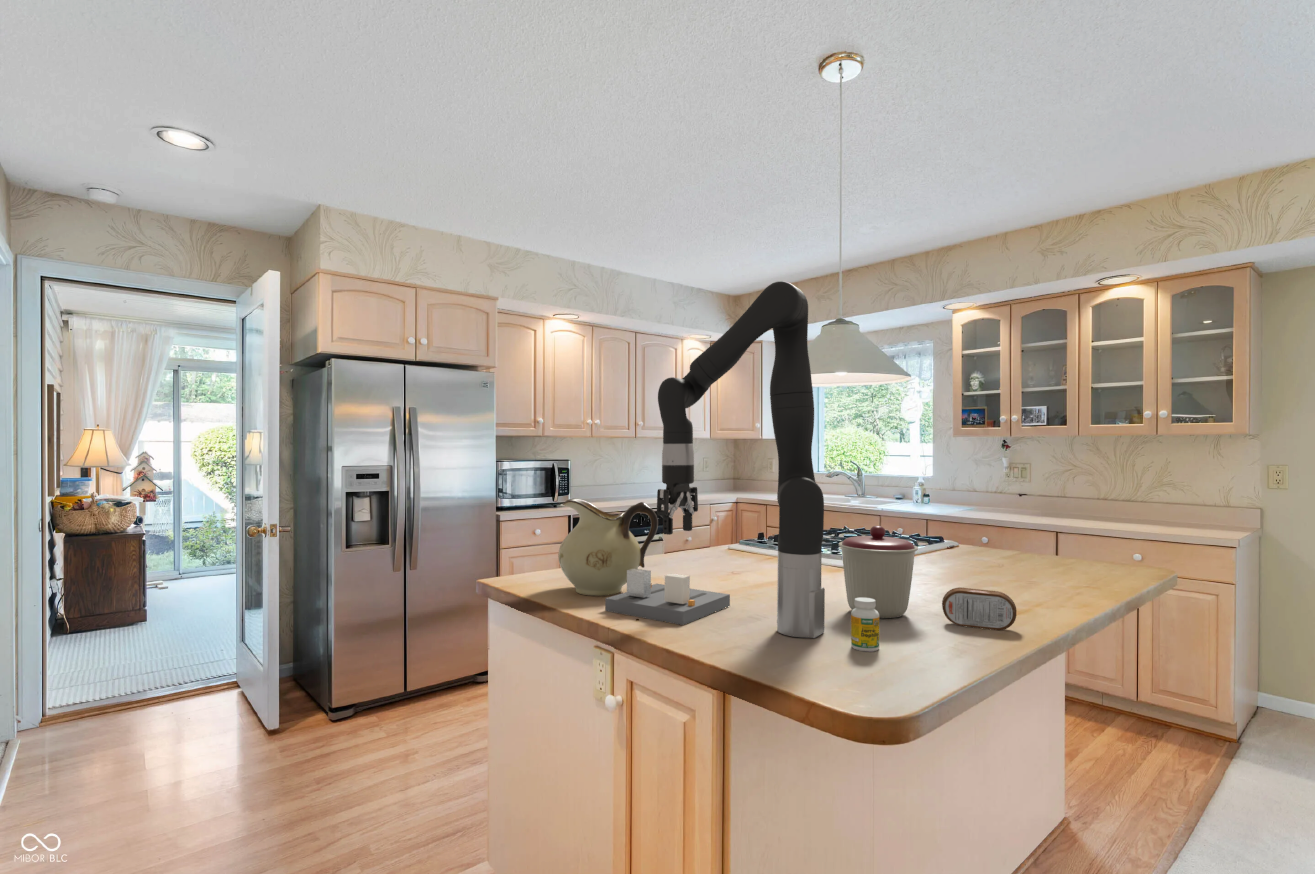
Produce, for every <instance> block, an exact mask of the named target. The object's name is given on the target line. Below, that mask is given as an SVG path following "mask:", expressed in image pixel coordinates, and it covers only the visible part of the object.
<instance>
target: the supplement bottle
mask: <svg viewBox="0 0 1315 874" xmlns="http://www.w3.org/2000/svg"><path fill="white" fill-rule="evenodd" d="M854 605H855V607H856V608H855V609H853V610H851V612H850V619H851V620H850V630H851V631H850V635H851V636H850V637H851V638H850V645H851V647H852V649H854V650H856V651H858V652H859V651H860V652H870V653H871V652H876V651H878V650H879V649H880V618H879V613H878V611H876V610H875V609H874V608H875V606H876V601H875V600H874V599H871V598H855V602H854Z"/></svg>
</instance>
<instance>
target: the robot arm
mask: <svg viewBox="0 0 1315 874" xmlns="http://www.w3.org/2000/svg"><path fill="white" fill-rule="evenodd" d="M808 302H809V301H808V299H807V296H806V295H805V293H804V292H803V291H802V290H801V289H800V288H798V287H797V286H795V285H794V284H792V283H790V282H788V281H783V280H781V281H775V282H773V283H771V284H769V285H767V286H766V287H765V288H764V289H763V291H762V292H761V293H760V294H759V295H758V296H757V297H756V298H755V299H754V300H753V302H752V303H751V305H750V306H749V307H748V308H747V309H746V310H745V312H743V313H742V314H741V316H740V317H739V318H738V319H737V320H736V321H735V322H734V323H733V325H732V326H730V327H729V328H728V329H727V330H726V331H725V332H724V333H723V334H722V336H720V337H719V338H717V340H716V341H714V342H713V343H712V344H711V345H710V346H709V347H707V348H706V349H705V350H704V351H703V352H701V354H699V355H698V356H697V357H696V358H694V360H693V361H692V362H691V363H690V365H689V372H687V374H686V375H685V376H683V377H682V378H680V377H675V376H674V377H672V376H671V377H668V378H666V379H663V381H662V382H661V383H660V385H659V388H658V392H657V402H658V403H657V404H658V408H659V413H660V418H661V423H662V428H663V430H662V450H661V451H662V452H661V482H662V483H663V484H664V485H666V486H665V489H664V488H658V489H657V493H656V494H657V495H656V516H660V517H661V518H662V531H663V532H662V533H663V534H664V535H667V536H668V535H673V534H674V524H673V523H674V522H673V521H674V519H673V516H674V513H675V511H677V510H678V508H680V509H681V511H682V530H683V531H685V532H692V531H693V515H694V514H695V513H696V512H698V511H699V499H698V498H699V497H698V487H697V486H690V484H693V483H694V482H695V452H694V450H695V449H694V429H693V428H694V427H693V422H692V421H691V420H690V419H688V416H687V409H689V408H690V407H692V406H694V405H695V404H696V403H698V402H699V400H701V398H702V397H703V396H704V395H705V394H706V393H707V392H708V390H709V389H710V387H711V386H712V385H714V383H716V382H717V381H718V380H720V379H721V378H722V377H723V376H724V375H725V374H727V373H728V372H729V371H730V370H731V369H733V368H734V367H735V365H736V364H737V363H738V362H739V361H740V359H741V358H742V357H743V355H744V354H745V353H746V352H747V350H748V349H749V348H750V347H751V346H752V344H753V343H755V341H757V339H759V338H760V337H761V336H763V335H764V334H765V333H767V332H768V331H770V330H771V329H772V333H773V339H774V340H773V341H774V353H775V354H774V361H773V367H772V371H771V377H770V383H769V386H770V387H769V396H770V397H769V399H770V411H771V421H772V427H773V434H774V439H775V445H776V449H777V458H778V459H777V460H778V464H777V465H778V470H777V471H778V475H777V478H778V479H777V481H778V482H777V495H776V496H777V504H778V507H779V508H778V509H779V510H778V512H779V513H778V517H779V518H778V519H779V520H778V522H779V523H778V535H777V536H778V537H777V591H776V592H777V594H776V595H777V599H776V600H777V603H776V605H777V607H776V612H777V614H776V617H777V619H776V625H777V626H776V628H777V629H776V631H777V632H778V633H780V634H782V635H783V636H789V637H793V638H811V639H815V638H817V637H819V636H820V635H822V634H824V633H825V612H826V610H825V604H826V603H825V600H826V598H825V597H826V596H825V593H826V592H825V591H826V590H825V587H822V558H823V556H822V549H823V548H822V547H823V540H824V526H825V525H824V524H825V523H824V520H825V518H824V517H825V499H824V494H823V491H822V489H821V487H820V486H819V484H818V483H817V481H816V478H815V471H814V465H813V456H812V455H813V454H812V451H813V450H812V448H813V439H814V427H815V402H814V390H813V381H812V371H811V362H810V357H809V356H810V355H809V350H808V349H809V346H808V338H809V337H808V334H809V333H808V331H809V329H808V328H809V327H808V326H809V325H808V324H809V303H808ZM662 507H663V509H662Z"/></svg>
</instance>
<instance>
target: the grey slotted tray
mask: <svg viewBox="0 0 1315 874" xmlns="http://www.w3.org/2000/svg"><path fill="white" fill-rule="evenodd" d="M664 600H665V584H662V583H654V584H653V583H652V582H651V596H647V597H644V598H642V597H636V596H630V595H627V591H626V592H623V593H618V594H614V595H612V596H609V597H608V596H607V597H605V603H604V604H605V605H604V606H605V610H604V611H605V612H608V613H615V614H616V613H617V614H620V615H625V616H630V617H631V616H632V617H637V618H641V617H642V618H643V619H646V620H647V619H648V620H652V619H653V620H654V621H658V622H663V621H666V622H665V623H668V622H670V623H669V624H674V623H675V624H674V625H679V624H680V626H684V624H685V625H688V624H689V623H692V622H694V621H697V620H699V618H700V619H702V618H705V617H707V616H710V615H712V614H714V613H713V612H715V611H717V612H719V610H720V611H722V610H724V609H723V608H725V607H727V608H729V607H728V606H730V607H731V594H729V593H722V592H716V591H710V590H704V589H696V588H690V594H689V600H688V602H687V603H684V604H679V603H673V602H667V601H664ZM721 609H722V610H721ZM725 609H726V608H725ZM711 613H712V614H711ZM715 613H716V612H715ZM709 614H710V615H709ZM704 616H705V617H704ZM642 618H641V619H642ZM687 623H688V624H687Z"/></svg>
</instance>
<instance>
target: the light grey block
mask: <svg viewBox="0 0 1315 874" xmlns="http://www.w3.org/2000/svg"><path fill="white" fill-rule="evenodd" d="M651 578H652V570H648V569H643V568H641V569H640V568H638V569H635V568H634V569H630V570H627V583H626V592H627V595H630V596H636V597H642V598H644V597H647V596H651V583H652V579H651Z"/></svg>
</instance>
